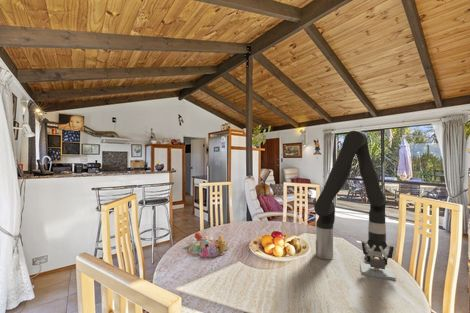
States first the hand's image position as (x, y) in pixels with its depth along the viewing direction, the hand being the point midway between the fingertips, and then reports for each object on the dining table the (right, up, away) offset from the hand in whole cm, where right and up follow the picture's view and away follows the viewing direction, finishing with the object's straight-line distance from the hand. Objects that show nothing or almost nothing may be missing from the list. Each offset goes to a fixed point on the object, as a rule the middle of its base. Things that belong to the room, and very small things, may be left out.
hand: (376, 263), depth 114 cm
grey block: (0, -1, 0) cm, 1 cm away
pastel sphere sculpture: (-88, -5, +28) cm, 93 cm away
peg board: (0, -4, 0) cm, 4 cm away
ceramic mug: (+7, -4, +16) cm, 18 cm away
